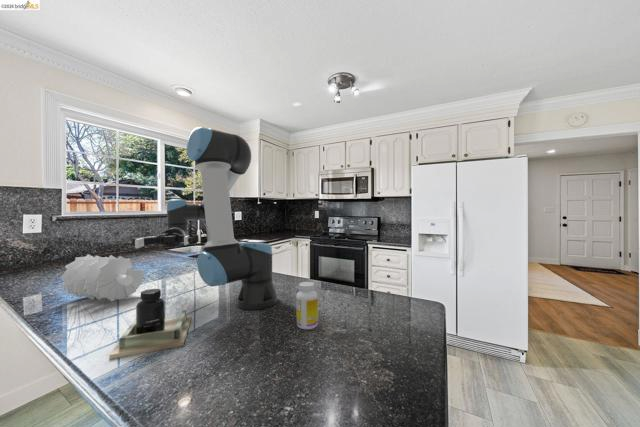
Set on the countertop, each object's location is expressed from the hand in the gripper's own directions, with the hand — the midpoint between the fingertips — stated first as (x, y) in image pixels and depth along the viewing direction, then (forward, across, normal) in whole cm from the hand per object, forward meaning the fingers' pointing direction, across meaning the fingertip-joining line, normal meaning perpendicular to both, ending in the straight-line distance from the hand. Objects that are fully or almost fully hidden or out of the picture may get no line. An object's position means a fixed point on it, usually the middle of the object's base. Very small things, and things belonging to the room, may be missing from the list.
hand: (161, 242), depth 82 cm
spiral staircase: (-36, +28, -25) cm, 52 cm away
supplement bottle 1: (+10, +1, -25) cm, 27 cm away
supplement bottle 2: (+20, -42, -27) cm, 54 cm away
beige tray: (+10, 0, -26) cm, 28 cm away
